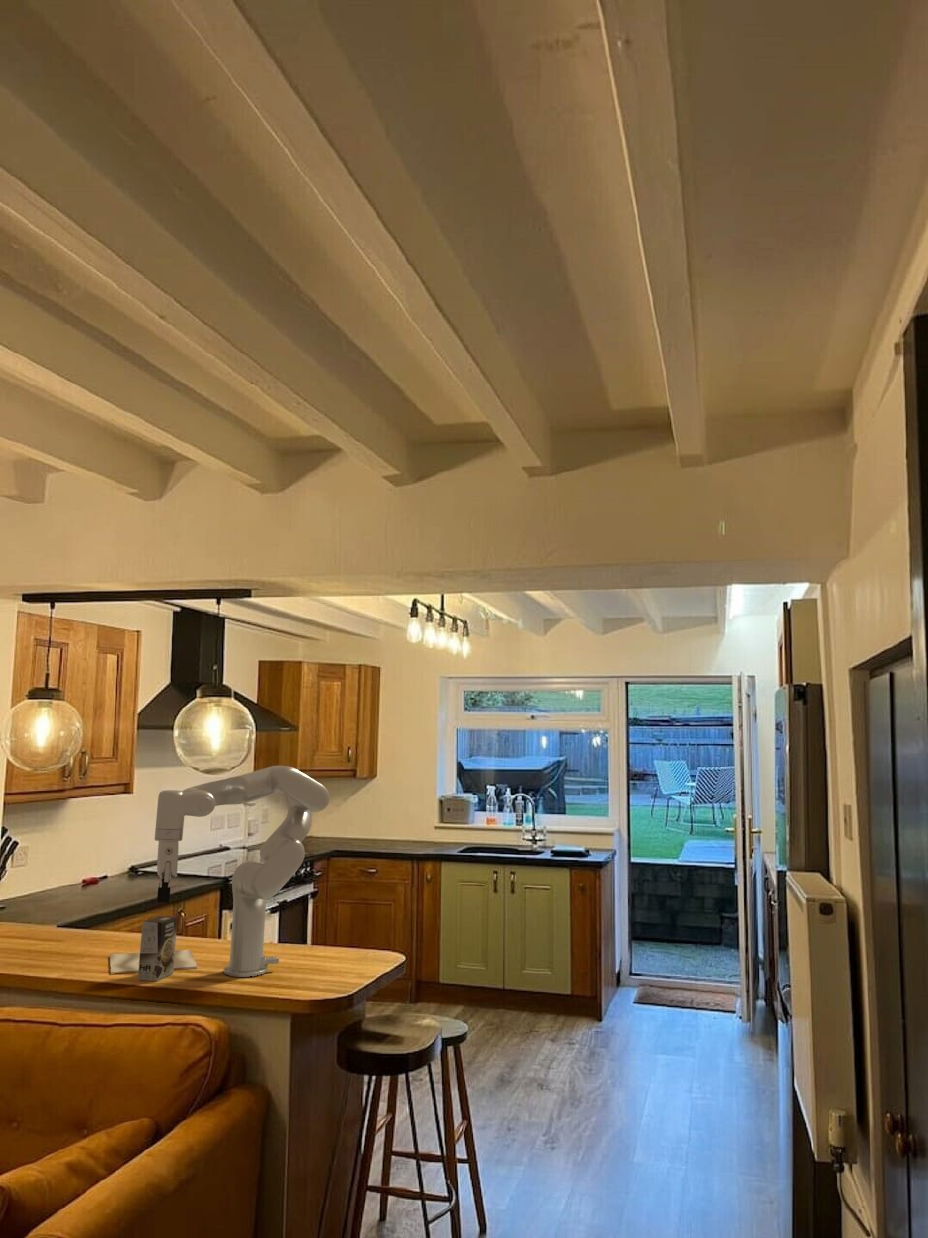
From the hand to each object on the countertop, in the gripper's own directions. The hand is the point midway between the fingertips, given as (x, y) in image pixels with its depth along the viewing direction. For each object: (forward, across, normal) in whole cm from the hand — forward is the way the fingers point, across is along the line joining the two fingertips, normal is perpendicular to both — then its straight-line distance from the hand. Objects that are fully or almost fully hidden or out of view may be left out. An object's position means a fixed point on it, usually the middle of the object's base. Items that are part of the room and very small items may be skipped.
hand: (163, 902), depth 244 cm
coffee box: (+23, +10, -1) cm, 25 cm away
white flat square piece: (+22, +27, -1) cm, 35 cm away
